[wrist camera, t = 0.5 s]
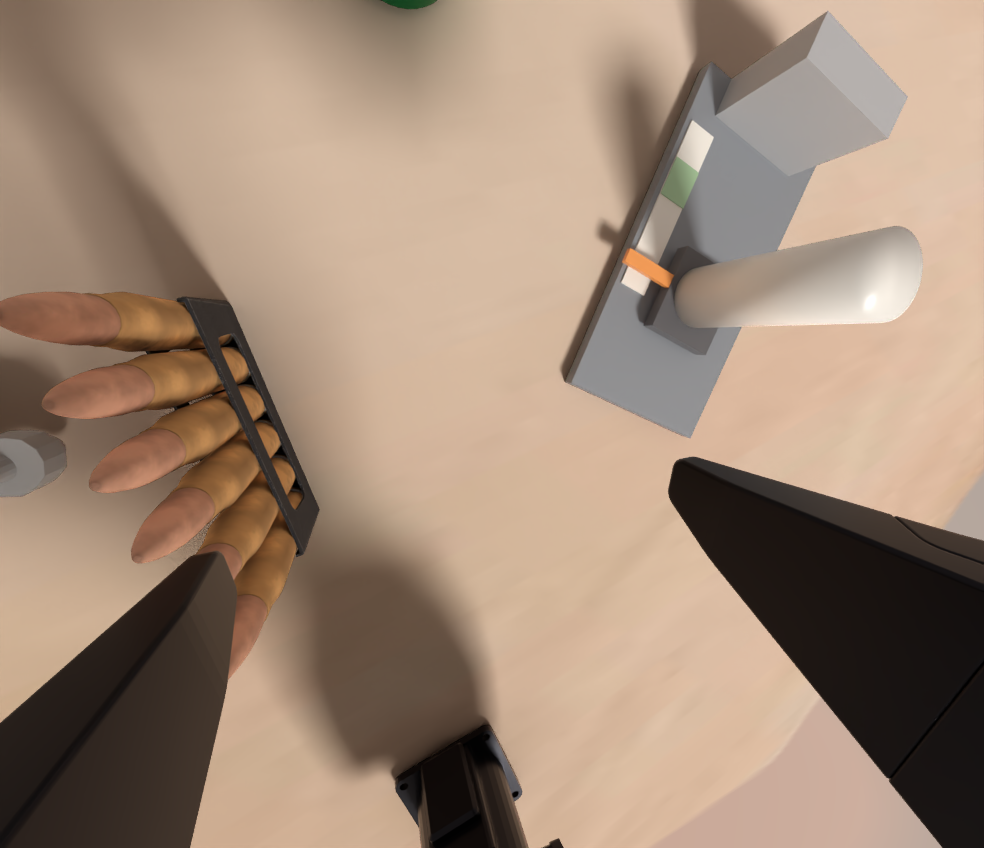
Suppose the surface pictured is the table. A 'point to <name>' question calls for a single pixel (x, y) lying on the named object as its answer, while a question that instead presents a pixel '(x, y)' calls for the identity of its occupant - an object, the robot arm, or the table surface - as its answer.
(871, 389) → the table surface
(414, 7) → the soda can
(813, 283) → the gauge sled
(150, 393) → the ammunition clip
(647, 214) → the gauge board
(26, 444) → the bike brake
